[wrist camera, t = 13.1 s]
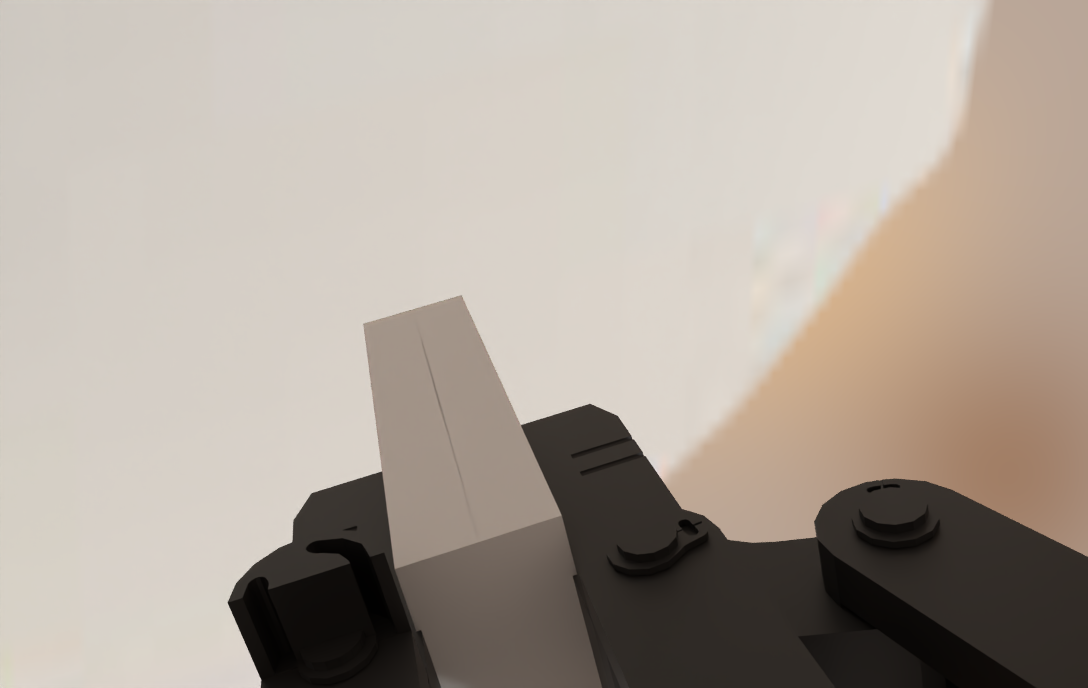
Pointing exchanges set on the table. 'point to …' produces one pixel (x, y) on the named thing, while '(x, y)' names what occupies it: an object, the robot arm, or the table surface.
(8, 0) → the table surface
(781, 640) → the robot arm
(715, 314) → the table surface
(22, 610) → the table surface
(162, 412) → the table surface
